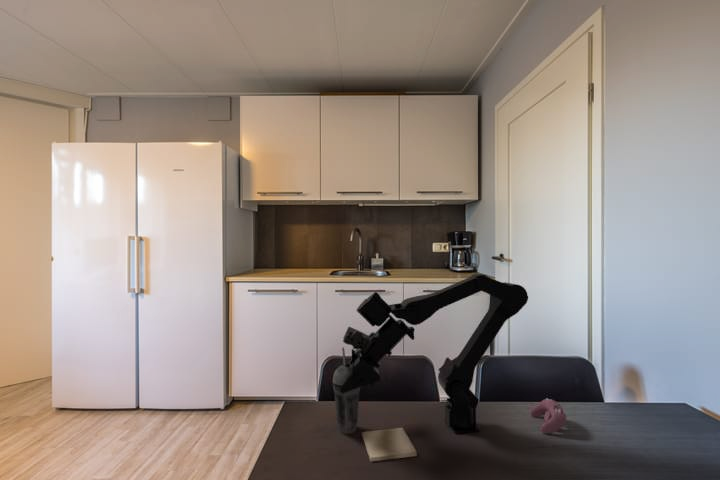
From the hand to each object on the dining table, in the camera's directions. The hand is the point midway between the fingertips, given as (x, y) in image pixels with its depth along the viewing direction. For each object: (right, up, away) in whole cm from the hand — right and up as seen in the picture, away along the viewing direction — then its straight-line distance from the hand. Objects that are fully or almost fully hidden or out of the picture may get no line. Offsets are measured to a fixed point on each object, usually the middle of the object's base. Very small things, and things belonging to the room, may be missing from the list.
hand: (341, 385), depth 83 cm
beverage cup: (+1, -11, 0) cm, 11 cm away
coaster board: (+11, -10, -7) cm, 17 cm away
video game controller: (+51, -10, +1) cm, 52 cm away
